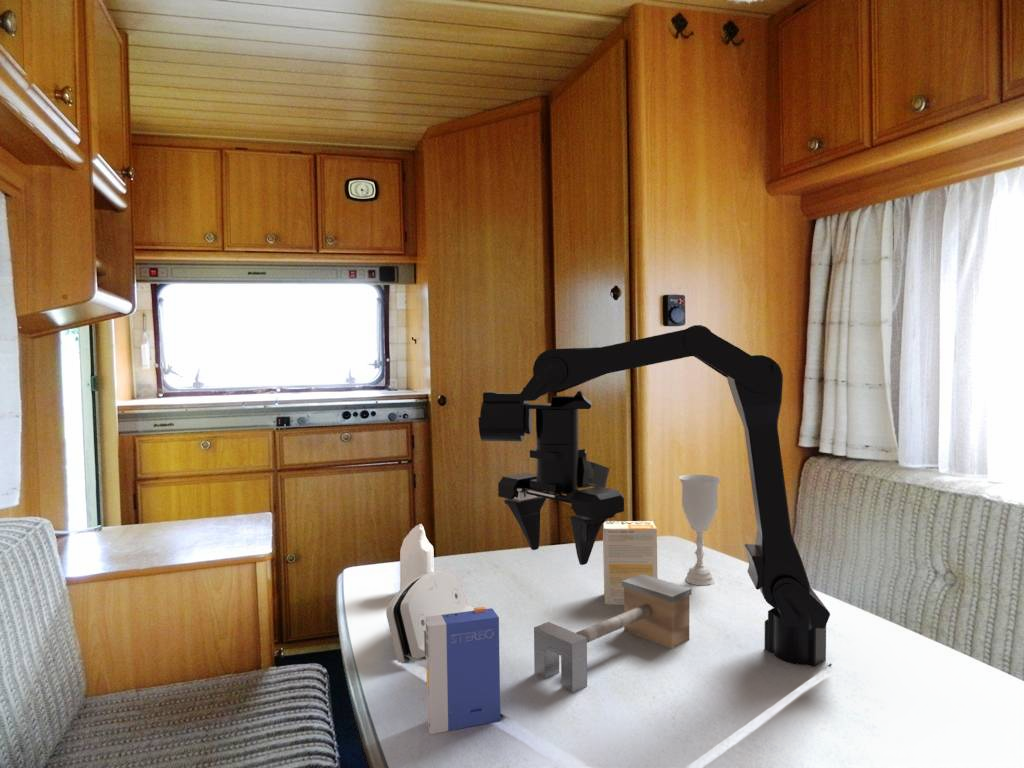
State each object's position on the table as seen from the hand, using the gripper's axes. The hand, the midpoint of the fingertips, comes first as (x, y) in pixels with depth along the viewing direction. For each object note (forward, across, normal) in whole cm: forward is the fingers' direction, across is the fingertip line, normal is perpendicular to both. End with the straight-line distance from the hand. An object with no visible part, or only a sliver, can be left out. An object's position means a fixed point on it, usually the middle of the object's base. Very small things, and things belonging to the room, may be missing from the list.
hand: (558, 556), depth 92 cm
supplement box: (+13, +3, -19) cm, 23 cm away
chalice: (+13, +2, -37) cm, 39 cm away
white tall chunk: (+13, +30, +3) cm, 33 cm away
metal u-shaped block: (+12, -8, +8) cm, 17 cm away
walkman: (+13, -6, +21) cm, 25 cm away
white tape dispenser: (+13, +14, +11) cm, 22 cm away
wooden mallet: (+12, -8, -4) cm, 15 cm away
